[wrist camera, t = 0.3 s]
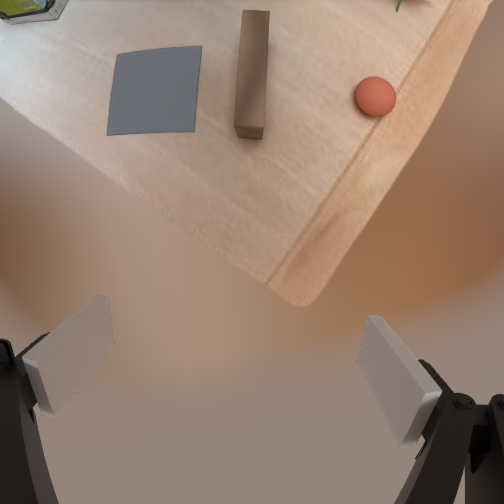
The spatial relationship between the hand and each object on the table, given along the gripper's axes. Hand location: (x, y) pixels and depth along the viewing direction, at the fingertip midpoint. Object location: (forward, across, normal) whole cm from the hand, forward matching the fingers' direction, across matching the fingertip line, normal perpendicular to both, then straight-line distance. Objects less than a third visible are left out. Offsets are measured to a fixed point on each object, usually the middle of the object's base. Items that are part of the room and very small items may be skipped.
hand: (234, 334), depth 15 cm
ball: (+25, +15, +20) cm, 36 cm away
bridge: (+27, -1, +20) cm, 34 cm away
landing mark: (+27, -15, +20) cm, 37 cm away
